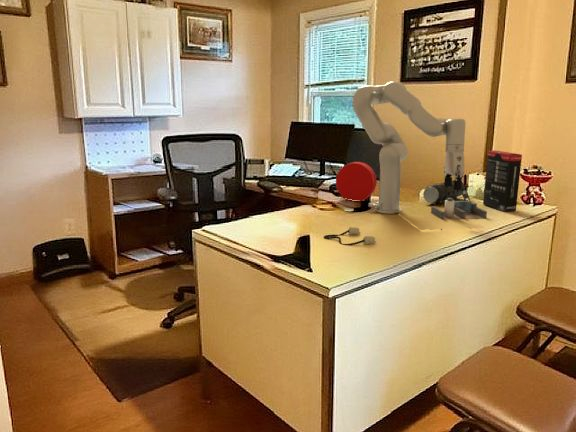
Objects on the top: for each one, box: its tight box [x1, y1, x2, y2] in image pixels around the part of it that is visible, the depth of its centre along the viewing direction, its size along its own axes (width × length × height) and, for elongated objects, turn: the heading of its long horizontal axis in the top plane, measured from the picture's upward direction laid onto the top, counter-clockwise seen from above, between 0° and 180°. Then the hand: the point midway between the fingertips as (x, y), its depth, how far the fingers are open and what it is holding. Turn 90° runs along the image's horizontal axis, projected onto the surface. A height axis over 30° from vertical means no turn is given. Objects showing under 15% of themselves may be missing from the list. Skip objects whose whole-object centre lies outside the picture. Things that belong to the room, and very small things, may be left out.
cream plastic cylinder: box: [443, 198, 456, 217], centre depth 209 cm, size 4×4×8 cm
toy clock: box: [335, 161, 377, 202], centre depth 245 cm, size 20×6×20 cm, turn 66°
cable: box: [323, 226, 377, 246], centre depth 177 cm, size 16×16×4 cm
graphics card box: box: [482, 150, 523, 213], centre depth 227 cm, size 17×7×27 cm, turn 14°
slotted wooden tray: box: [430, 200, 488, 221], centre depth 211 cm, size 20×14×6 cm
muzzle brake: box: [422, 179, 466, 205], centre depth 244 cm, size 10×28×10 cm, turn 135°
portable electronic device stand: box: [462, 190, 471, 201], centre depth 227 cm, size 9×8×8 cm
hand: (452, 187), depth 206 cm, fingers open, 9 cm apart
